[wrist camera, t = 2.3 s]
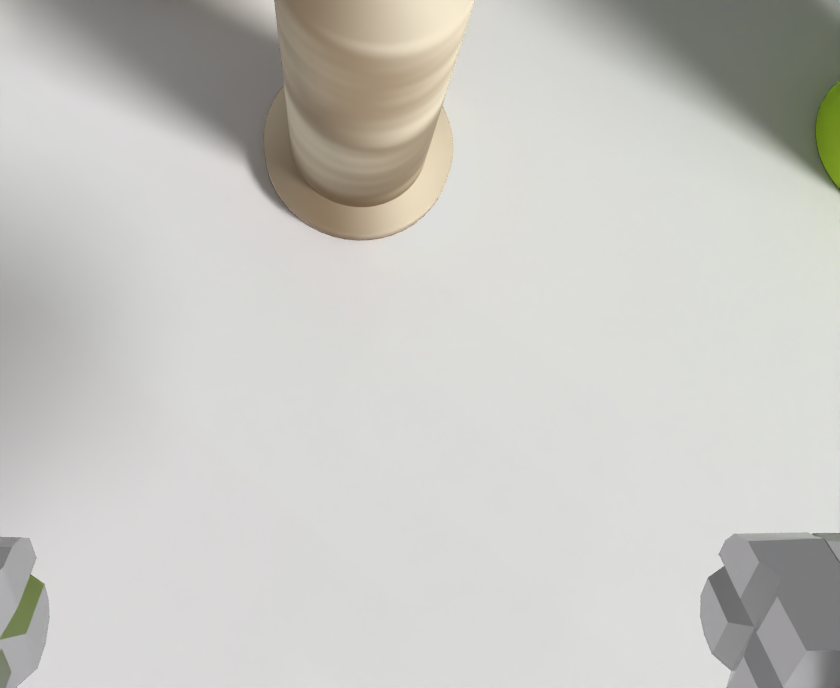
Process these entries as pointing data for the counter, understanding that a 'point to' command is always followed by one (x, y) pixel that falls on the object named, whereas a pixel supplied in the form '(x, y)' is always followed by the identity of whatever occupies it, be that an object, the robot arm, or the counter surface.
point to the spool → (363, 111)
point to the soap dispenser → (830, 133)
